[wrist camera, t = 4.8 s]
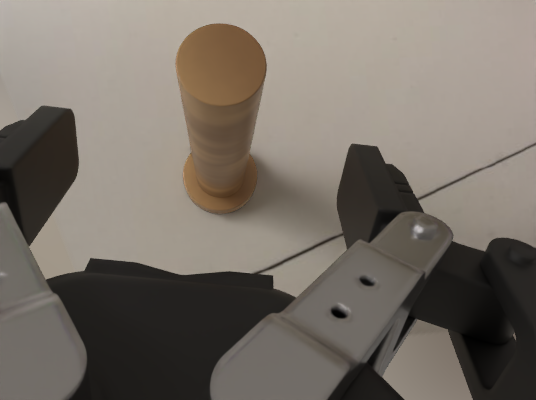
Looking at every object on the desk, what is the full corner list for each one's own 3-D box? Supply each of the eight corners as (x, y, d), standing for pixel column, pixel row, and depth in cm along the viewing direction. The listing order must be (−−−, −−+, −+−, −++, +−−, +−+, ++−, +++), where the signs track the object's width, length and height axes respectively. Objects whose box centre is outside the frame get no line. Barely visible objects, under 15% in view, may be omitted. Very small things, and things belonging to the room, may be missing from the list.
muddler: (201, 225, 25) (183, 151, 12) (173, 161, 26) (128, 27, 13) (267, 196, 26) (313, 99, 13) (238, 134, 26) (255, -16, 14)
